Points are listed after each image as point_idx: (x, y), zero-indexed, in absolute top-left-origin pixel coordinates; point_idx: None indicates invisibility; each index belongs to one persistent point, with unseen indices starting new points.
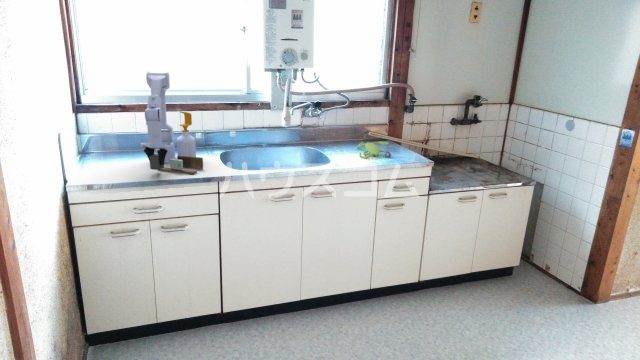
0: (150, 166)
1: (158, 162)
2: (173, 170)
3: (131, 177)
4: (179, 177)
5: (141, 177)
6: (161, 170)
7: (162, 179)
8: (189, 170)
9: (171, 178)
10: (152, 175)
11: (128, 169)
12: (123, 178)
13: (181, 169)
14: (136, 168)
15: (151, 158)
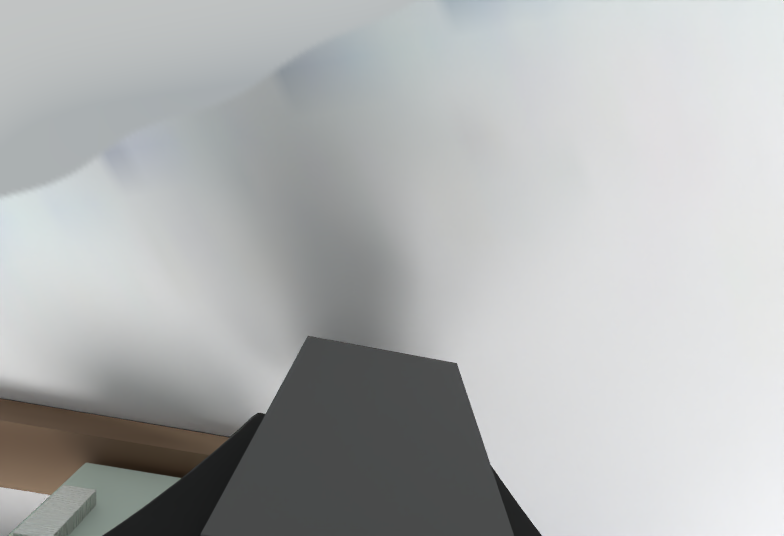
0: (456, 385)
1: (266, 419)
2: (199, 452)
3: (648, 156)
4: (35, 260)
5: (513, 179)
6: None
7: (199, 136)
8: (8, 475)
9: (108, 201)
10: (405, 286)
11: (767, 460)
12: (749, 90)
13: (84, 468)
14: (684, 504)
15: (444, 511)
